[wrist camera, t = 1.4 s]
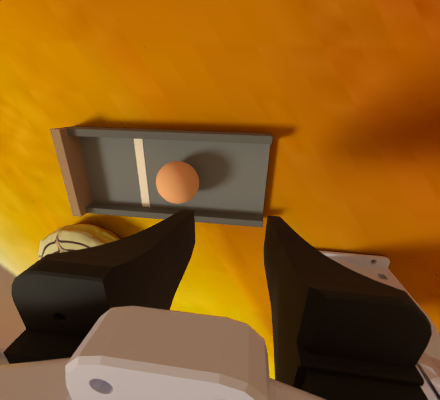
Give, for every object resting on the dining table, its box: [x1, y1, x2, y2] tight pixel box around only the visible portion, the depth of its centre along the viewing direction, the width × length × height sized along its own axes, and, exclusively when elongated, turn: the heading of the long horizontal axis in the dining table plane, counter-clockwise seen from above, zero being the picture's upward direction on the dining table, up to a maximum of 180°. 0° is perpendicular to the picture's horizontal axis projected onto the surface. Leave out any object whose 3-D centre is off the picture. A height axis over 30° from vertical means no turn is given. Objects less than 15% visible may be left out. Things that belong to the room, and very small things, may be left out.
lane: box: [50, 126, 273, 227], centre depth 20 cm, size 18×8×3 cm, turn 89°
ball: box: [156, 161, 199, 204], centre depth 19 cm, size 4×4×4 cm
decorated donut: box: [38, 224, 120, 260], centre depth 25 cm, size 10×11×4 cm
